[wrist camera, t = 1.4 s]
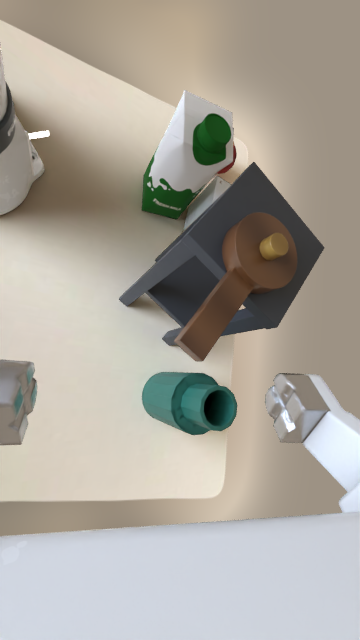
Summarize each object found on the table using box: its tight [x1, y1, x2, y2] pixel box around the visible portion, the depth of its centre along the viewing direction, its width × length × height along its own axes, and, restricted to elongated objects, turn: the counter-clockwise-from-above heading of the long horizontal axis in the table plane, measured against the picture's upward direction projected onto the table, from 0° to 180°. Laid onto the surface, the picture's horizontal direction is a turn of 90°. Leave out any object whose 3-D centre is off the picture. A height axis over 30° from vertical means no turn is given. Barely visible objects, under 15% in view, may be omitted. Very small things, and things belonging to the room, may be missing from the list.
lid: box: [174, 212, 297, 361], centre depth 24 cm, size 15×7×3 cm, turn 141°
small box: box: [183, 176, 232, 231], centre depth 52 cm, size 8×6×10 cm
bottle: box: [142, 372, 237, 435], centre depth 41 cm, size 8×8×17 cm
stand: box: [119, 162, 324, 346], centre depth 40 cm, size 12×12×26 cm
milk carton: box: [142, 90, 234, 219], centre depth 45 cm, size 9×9×20 cm
